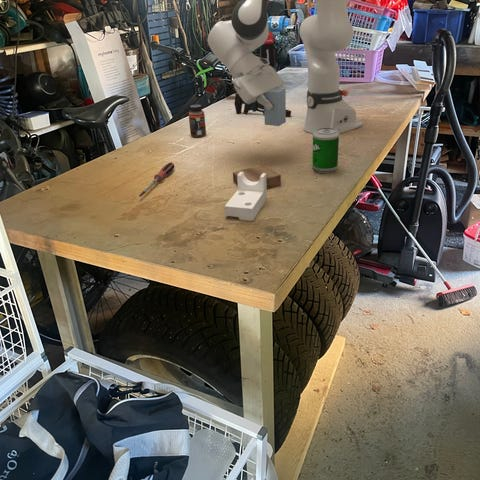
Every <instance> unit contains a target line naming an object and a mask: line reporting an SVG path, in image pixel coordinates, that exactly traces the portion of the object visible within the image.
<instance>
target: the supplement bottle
mask: <svg viewBox="0 0 480 480" xmlns="http://www.w3.org/2000/svg"><path fill="white" fill-rule="evenodd" d="M188 123H189V130H190V133H189V134H190V136H191V137H192V138H204V137H205V136H206V135H207V130H206V129H207V128H206V117H205V111H204V110H203V109H202V105H201V104H192V105H190V111H189V112H188Z"/></svg>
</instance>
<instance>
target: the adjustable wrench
mask: <svg viewBox="0 0 480 480" xmlns="http://www.w3.org/2000/svg"><path fill="white" fill-rule="evenodd" d="M233 104H234V109H235V113H236V115H240V114H242V115H243V114H245V115H247V114H248V113H249V112H253V113H256V112H259V113H261V114H263V115H264V106H263V105H262V104H260V103H259V102H258V101H255V102H253V103H251V104H247V103H245V102H244V101H243V100H242V99H241V97H240V96H239V94H238V93H235V97H234V102H233ZM243 105H244V106H243ZM242 109H243V113H242ZM291 114H292V110H290V109H286V118H290V117H292V115H291Z"/></svg>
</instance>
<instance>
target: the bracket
mask: <svg viewBox="0 0 480 480" xmlns="http://www.w3.org/2000/svg"><path fill="white" fill-rule="evenodd" d="M237 181H238V185H237V190H236V192H235V193H234V194H233V195H232V196H231V197H230V199H229V200H228V201H227V203H226V204H225V205H224V215H225V217H234V218H235V217H237V218H238V220H241V221H254V219H256V217H257V215H258V213H259V212H260V211H261V209H262V207H263V206H264V204H265V203H266V201H267V200H268V193H267V192H268V191H267V189H268V188H267V184H266V173H262V175H261V176H260V180H259V181H257V182H252V181H249V180H248V179H247V178H246V177H245V175H244V172H240V173H239V174H238V175H237Z"/></svg>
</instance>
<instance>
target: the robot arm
mask: <svg viewBox="0 0 480 480" xmlns="http://www.w3.org/2000/svg"><path fill="white" fill-rule="evenodd" d="M269 1H270V0H239V1H238V2H237V3H236V5H235V6H234V8H233V10H232V12H231V19H230V20H220V21H217V22H216V23H215V24H213V26H212V27H211V28H210V30H209V33H208V35H207V44H208V47H209V48H210V51H211V52H212V53H213V54H214V55H215V57H216V58H217V60H219V62H220V63H221V64H222V65H224V66H225V67H226V68H227V70H228V73H229V74H230V75H231V76H232V77H231V83H232V84H233V87H234V90H235V92H237V93H238V94H239V96H240V97H241V99H242V100H243V101H244V102H245V103H247V104H251V103H253V102H255V101H258V102H259V103H260V104H262V105H263V106H265V107H266V108H267V109H268V110H271V109H272V108H273V107H274V104H273V103H272V102H269V101H268V100H267V99H266V98H265V96H264V94H265V93H266V91H268V90H271V89H273V88H278V89H282V88H283V86H284V80H283V78H282V77H281V76H280V74H279V73H278V72H277V71H276V68H275V69H274V68H273V67H271V66H269V64H270V62H269V61H268V60H267V59H266V58H261V57H260V56H257V55H255V54H254V53H253V52H254V51H256V50H257V49H260V46H262V45H263V44H264V43H265V42H266V40H267V38H268V33H269V32H270V30H269V24H268V4H269ZM314 2H315V6H316V7H315V8H316V14H312V15H310V16H307V17H305V19H304V20H303V21H302V22H301V24H300V26H299V37H300V39H301V41H302V43H303V47H304V52H305V57H306V62H307V72H308V76H307V78H308V80H307V82H308V83H307V85H308V86H307V88H308V89H307V91H306V105H307V108H306V116H305V121H304V126H303V128H302V129H303V131H305V132H307V133H310V134H313V133H314V132H315V131H316V130H317V129H319V128H334V129H336V131H337V132H338V133H339V135H340V134H343V133H345V132H349V131H352V130H355V129H358V128H360V127H362V126H363V122H362V121H361V120H358V119H357V113H356V109H355V108H354V107H353V106H351V105H350V104H349V103H348V102H346V101H345V100H344V99H343V96H344V97H347V96H348V95H349V91H348V90H345V89H343V90H341V89H340V78H341V77H340V75H341V69H340V64H339V63H338V60H337V57H336V54H335V53H336V52H339V51H340V52H341V51H343V50H345V49H347V48H348V47H349V46H350V45H351V43H352V41H353V39H354V27H353V25H352V23H351V22H350V18H349V13H348V5H347V0H314ZM237 93H236V94H237Z"/></svg>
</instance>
